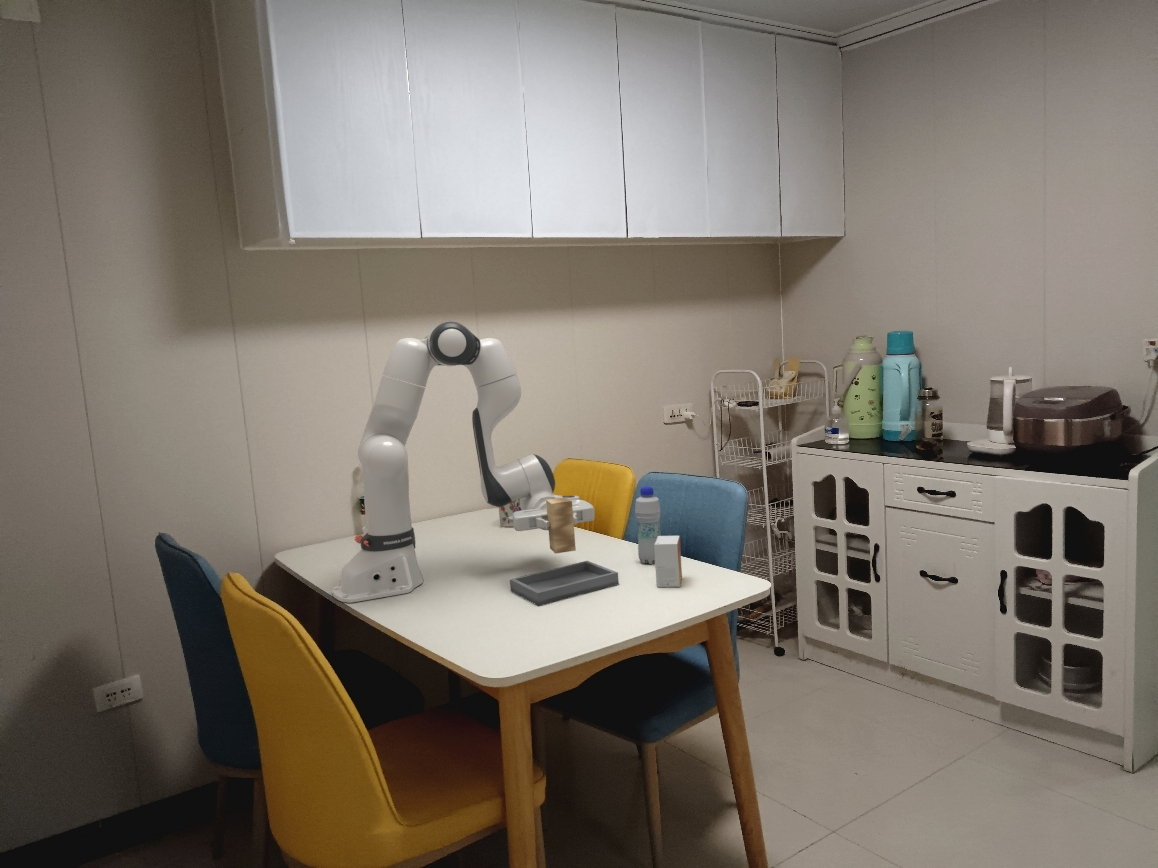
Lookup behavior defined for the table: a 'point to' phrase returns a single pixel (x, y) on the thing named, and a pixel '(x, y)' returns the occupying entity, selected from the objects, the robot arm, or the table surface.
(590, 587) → the tray
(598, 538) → the table surface
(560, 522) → the oak block
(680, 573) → the small box
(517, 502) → the decorative jar
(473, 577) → the table surface
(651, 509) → the bottle
